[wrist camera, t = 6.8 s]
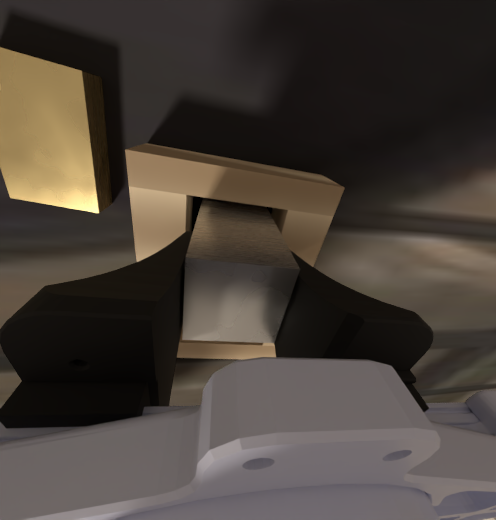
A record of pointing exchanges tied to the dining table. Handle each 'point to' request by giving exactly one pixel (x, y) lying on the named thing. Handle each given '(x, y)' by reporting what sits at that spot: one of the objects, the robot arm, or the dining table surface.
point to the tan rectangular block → (53, 134)
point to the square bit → (236, 274)
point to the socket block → (229, 189)
